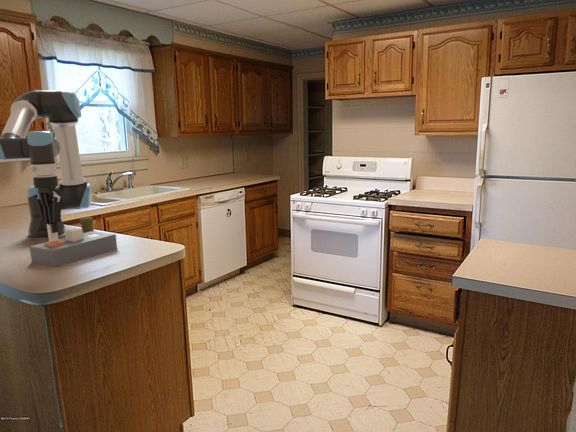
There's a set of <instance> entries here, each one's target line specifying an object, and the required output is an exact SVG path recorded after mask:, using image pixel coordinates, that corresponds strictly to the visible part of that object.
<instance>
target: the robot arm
mask: <svg viewBox="0 0 576 432" xmlns="http://www.w3.org/2000/svg"><path fill="white" fill-rule="evenodd" d="M9 109H10V115H9V117H8V120H7V121H6V123H5V125H4V128H3V130H2V132H1V135H0V160H4V161H6V160H19V159H21V160H22V159H30V165H31V168H30V169H31V171H32V176H34V177H33V178H32V182H33V185H31V186H29V187H28V188H27V190H26V193H27V194H26V195H27V197H26V198H27V202H28V209H29V214H30V220H29V221H30V222H29V225H28V230H27V231H28V236H29V237H32V238H41V237H48V242H55V241H59V239H60V238H59V235H60V234H63V233H64V234H65V232H64V230H66V226H65V225H64V222H63V220H62V218H61V217H62V216H61V215H62V211H67V210H69V211H70V210H83V209H88V208H90V206H91V203H92V184H91V183H88V182H87V181H88V180H87V179H86V178H85V177H84V176H83V171H82V165H81V164H82V163H81V157H80V150H79V144H78V136H77V130H76V129H77V128H76V125H77V124H78V123H79V119H80V118H81V117H82V110H81V106H80V102H79V99H78V97H77V95H76V92H74V91H72V90H67V89H54V90H53V89H51V90H50V89H48V90H44V89H43V90H42V89H41V90H39V89H35V90H31V91H27V92H24V93H23V94H21V95H20V96H18V97H17V98H15V100H14V101H13V102H12V104H11V106H10V108H9ZM36 119H48V123H49V124H50V125H52V126H53V131H54V137H55V138H54V137H53V135H52V132H51V131H49V130H48V131H47V130H46V131H44V130H43V131H29V129H30V127H31V124H32V122H34V121H35V120H36ZM57 156H58V162H59V168H60V173H61V180H60V181H59V180H58V176H57V175H58V170H57V164H56V158H55V157H57Z"/></svg>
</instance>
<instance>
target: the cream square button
mask: <svg viewBox="0 0 576 432" xmlns="http://www.w3.org/2000/svg"><path fill="white" fill-rule="evenodd" d="M99 235H100V234H91V235H87V236H86V237H95V236H99Z"/></svg>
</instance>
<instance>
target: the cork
mask: <svg viewBox="0 0 576 432" xmlns="http://www.w3.org/2000/svg"><path fill="white" fill-rule="evenodd" d="M79 224H80V226H81V229H82V231H83V233H86V232H90V231H94V226H93V224H94V218H93V217H91V216H83V217H81V218H80V219H79Z"/></svg>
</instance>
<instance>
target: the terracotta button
mask: <svg viewBox="0 0 576 432" xmlns="http://www.w3.org/2000/svg"><path fill="white" fill-rule="evenodd" d="M44 243H45V246H47V247H56V246H60V245H64V241H60V240H59V241H55V242H49V241H46V242H44Z"/></svg>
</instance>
